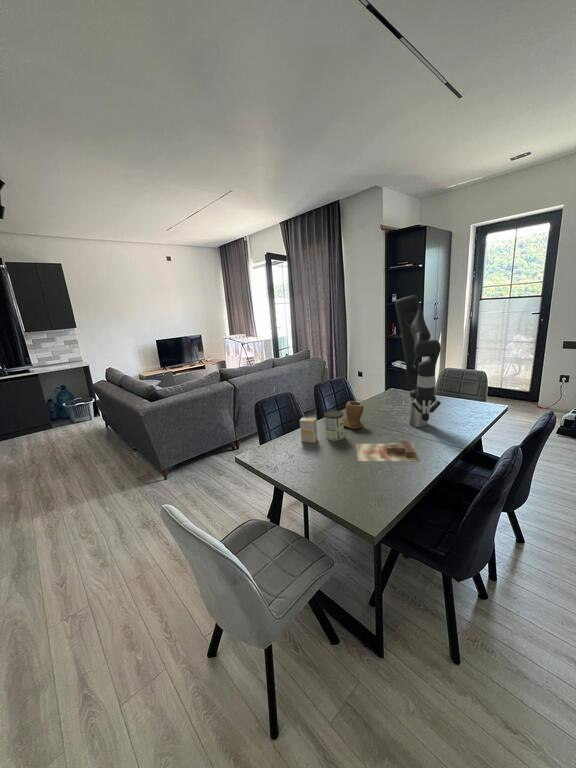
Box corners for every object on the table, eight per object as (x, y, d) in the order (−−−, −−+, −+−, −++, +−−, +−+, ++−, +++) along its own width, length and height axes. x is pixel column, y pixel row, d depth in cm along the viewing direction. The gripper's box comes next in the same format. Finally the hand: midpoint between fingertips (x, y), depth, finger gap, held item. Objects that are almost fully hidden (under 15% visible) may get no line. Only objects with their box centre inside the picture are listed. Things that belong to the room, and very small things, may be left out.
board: (412, 445, 156) (412, 443, 156) (421, 463, 139) (421, 461, 139) (355, 445, 161) (355, 443, 161) (357, 462, 144) (357, 461, 143)
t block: (409, 446, 153) (409, 440, 152) (415, 457, 142) (415, 452, 141) (384, 446, 155) (384, 440, 155) (388, 457, 144) (388, 452, 143)
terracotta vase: (368, 425, 184) (367, 402, 180) (354, 431, 177) (354, 407, 174) (349, 419, 196) (348, 397, 192) (335, 425, 189) (334, 402, 185)
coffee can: (327, 432, 180) (326, 409, 176) (345, 433, 176) (344, 410, 173) (324, 440, 170) (322, 416, 167) (342, 441, 167) (341, 417, 163)
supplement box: (317, 439, 171) (316, 418, 168) (315, 443, 167) (313, 421, 164) (304, 438, 175) (302, 416, 171) (301, 442, 171) (299, 420, 167)
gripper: (439, 382, 141) (437, 417, 145) (408, 383, 143) (408, 418, 147) (444, 386, 133) (443, 423, 138) (412, 387, 136) (411, 424, 140)
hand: (425, 420), depth 142 cm, fingers closed
